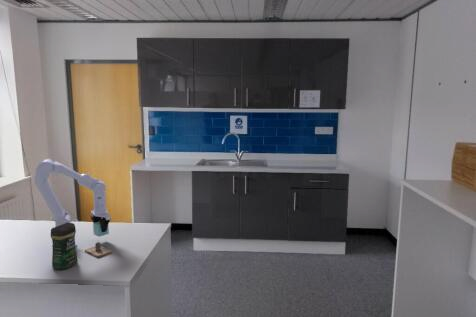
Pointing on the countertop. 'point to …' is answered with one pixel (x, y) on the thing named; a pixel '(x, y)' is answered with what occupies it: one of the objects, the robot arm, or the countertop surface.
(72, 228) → the coffee jar
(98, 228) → the teal matte cube
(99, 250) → the brown rectangular board
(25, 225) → the countertop surface
